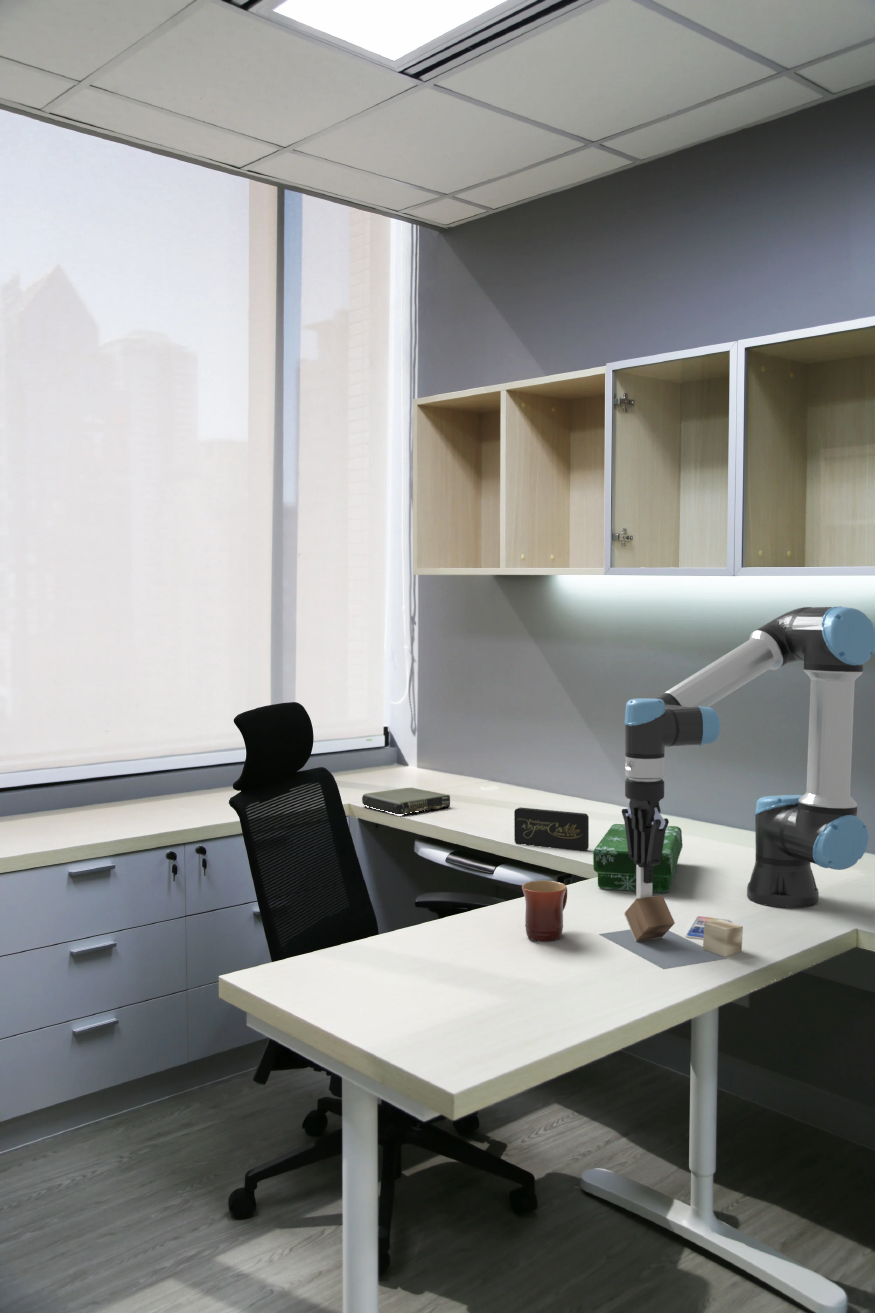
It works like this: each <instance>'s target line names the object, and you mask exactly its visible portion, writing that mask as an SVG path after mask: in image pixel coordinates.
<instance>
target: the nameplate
mask: <svg viewBox="0 0 875 1313" xmlns="http://www.w3.org/2000/svg"><path fill="white" fill-rule="evenodd" d="M513 812H514V822H513V824H514V825H513V826H514V827H513V828H514V832H513V833H514V836H513V837H514V843H515V844H516V845H521V844H526V845H525V846H530V845H534V847H539V846H541V847H540V848H548V847H551V848H550V849H557V848H558V849H557V850H559V849H560V850H567V851H576V852H577V851H578V852H586V851H587V850H588V849H589V846H590V842H589V838H590V837H589V834H590V833H589V829H590V827H589V825H590V824H589V820H590V819H589V814H587V813H585V812H583V813H582V812H575V811H574V812H573V811H562V810H554V809H551V810H550V809H541V808H531V807H517V808H515V809H514V811H513Z"/></svg>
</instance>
